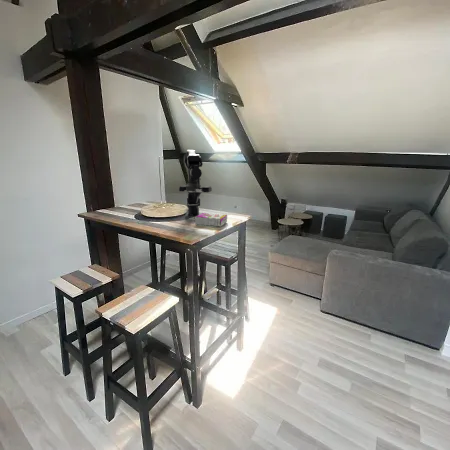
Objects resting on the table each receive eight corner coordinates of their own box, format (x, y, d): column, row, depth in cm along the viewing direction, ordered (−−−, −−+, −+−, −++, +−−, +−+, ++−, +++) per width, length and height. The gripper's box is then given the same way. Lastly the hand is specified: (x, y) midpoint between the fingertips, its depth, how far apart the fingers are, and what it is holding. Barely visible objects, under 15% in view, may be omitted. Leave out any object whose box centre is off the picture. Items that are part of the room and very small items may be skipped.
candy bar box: (202, 212, 151) (227, 214, 146) (202, 219, 152) (227, 222, 147) (194, 216, 141) (220, 218, 135) (194, 224, 142) (220, 227, 137)
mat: (196, 225, 142) (196, 224, 142) (204, 219, 154) (204, 219, 154) (216, 227, 138) (216, 226, 138) (222, 221, 150) (222, 220, 150)
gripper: (173, 177, 135) (175, 205, 140) (204, 178, 130) (205, 206, 135) (182, 176, 145) (183, 201, 150) (211, 176, 140) (212, 203, 145)
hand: (195, 203), depth 144 cm, fingers closed
